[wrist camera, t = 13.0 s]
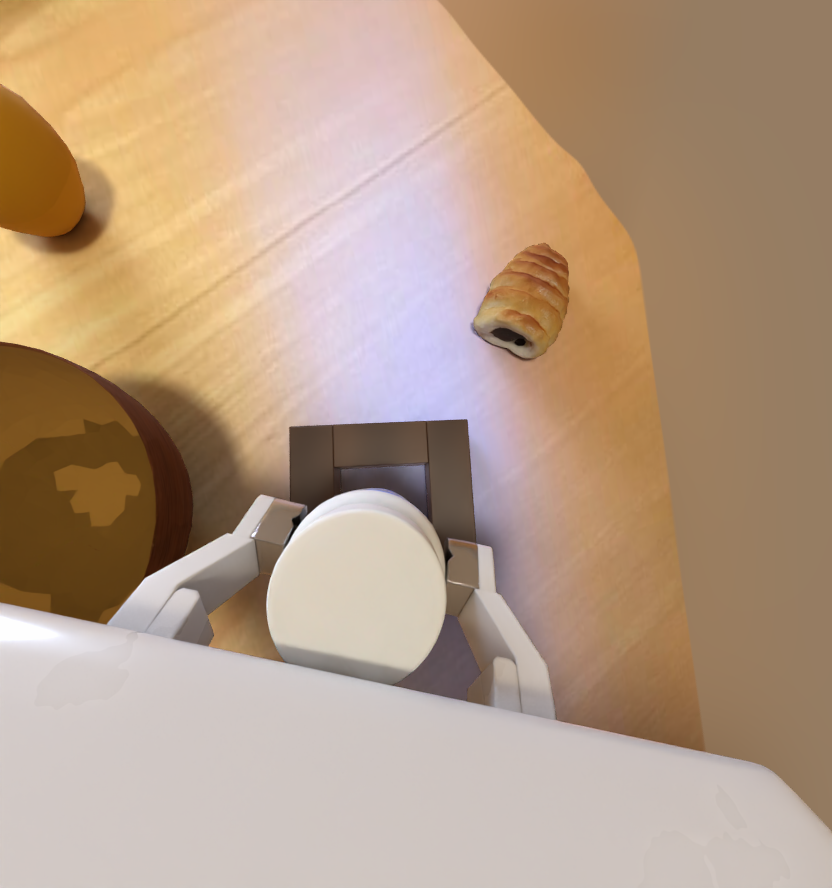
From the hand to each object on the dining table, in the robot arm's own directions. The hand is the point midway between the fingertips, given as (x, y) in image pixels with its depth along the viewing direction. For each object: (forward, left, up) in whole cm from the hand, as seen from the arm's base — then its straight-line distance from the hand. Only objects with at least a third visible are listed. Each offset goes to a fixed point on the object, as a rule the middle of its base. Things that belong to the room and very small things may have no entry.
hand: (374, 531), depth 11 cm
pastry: (-12, -16, -15) cm, 25 cm away
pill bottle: (0, +1, -5) cm, 5 cm away
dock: (0, 0, -15) cm, 15 cm away
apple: (+25, -25, -15) cm, 38 cm away
